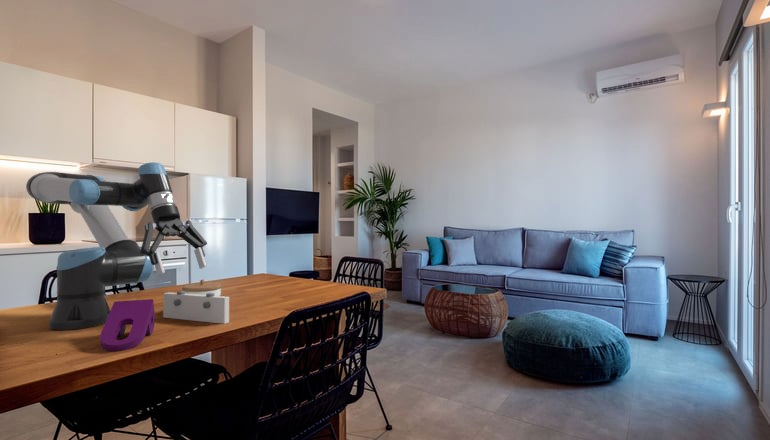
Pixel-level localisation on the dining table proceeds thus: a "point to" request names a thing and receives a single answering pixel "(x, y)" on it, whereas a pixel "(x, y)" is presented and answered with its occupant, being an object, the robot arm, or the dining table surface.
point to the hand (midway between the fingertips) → (183, 270)
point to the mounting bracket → (128, 314)
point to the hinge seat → (196, 307)
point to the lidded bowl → (203, 288)
